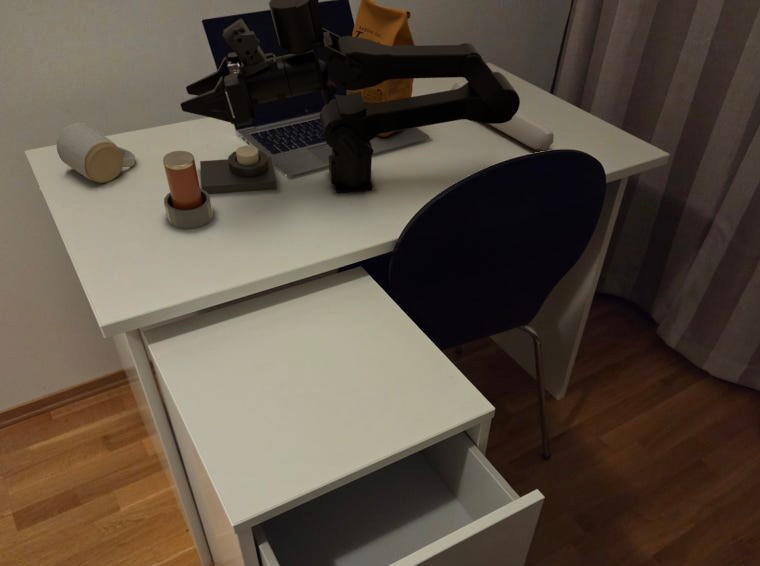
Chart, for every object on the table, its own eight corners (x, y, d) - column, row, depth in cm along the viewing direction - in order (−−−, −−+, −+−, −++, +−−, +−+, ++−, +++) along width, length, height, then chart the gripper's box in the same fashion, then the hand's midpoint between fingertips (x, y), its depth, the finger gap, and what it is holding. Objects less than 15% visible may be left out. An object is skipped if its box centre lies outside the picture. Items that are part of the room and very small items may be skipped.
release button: (258, 154, 109) (257, 144, 108) (259, 165, 107) (258, 155, 105) (236, 155, 108) (235, 146, 107) (238, 166, 106) (236, 157, 105)
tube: (563, 130, 120) (469, 80, 132) (548, 128, 117) (453, 78, 128) (551, 157, 123) (460, 106, 135) (536, 156, 119) (444, 104, 131)
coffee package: (374, 104, 131) (378, -15, 115) (417, 127, 126) (427, 6, 110) (337, 117, 126) (336, -4, 110) (380, 142, 121) (385, 18, 105)
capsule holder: (212, 204, 103) (209, 185, 101) (213, 229, 99) (210, 209, 96) (168, 207, 102) (164, 188, 100) (168, 232, 98) (163, 213, 95)
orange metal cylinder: (204, 207, 102) (193, 149, 95) (205, 223, 99) (194, 165, 92) (176, 209, 101) (162, 151, 94) (176, 225, 98) (162, 167, 91)
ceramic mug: (93, 192, 104) (79, 148, 98) (63, 173, 107) (49, 130, 101) (148, 168, 110) (138, 126, 104) (118, 151, 113) (107, 109, 107)
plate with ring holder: (271, 165, 113) (270, 147, 110) (276, 191, 107) (274, 172, 105) (201, 170, 110) (198, 151, 108) (203, 196, 105) (199, 177, 102)
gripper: (271, 6, 98) (170, 27, 97) (273, 29, 83) (155, 54, 82) (289, 82, 104) (196, 102, 104) (295, 115, 90) (186, 139, 89)
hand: (184, 98), depth 94 cm, fingers open, 9 cm apart
